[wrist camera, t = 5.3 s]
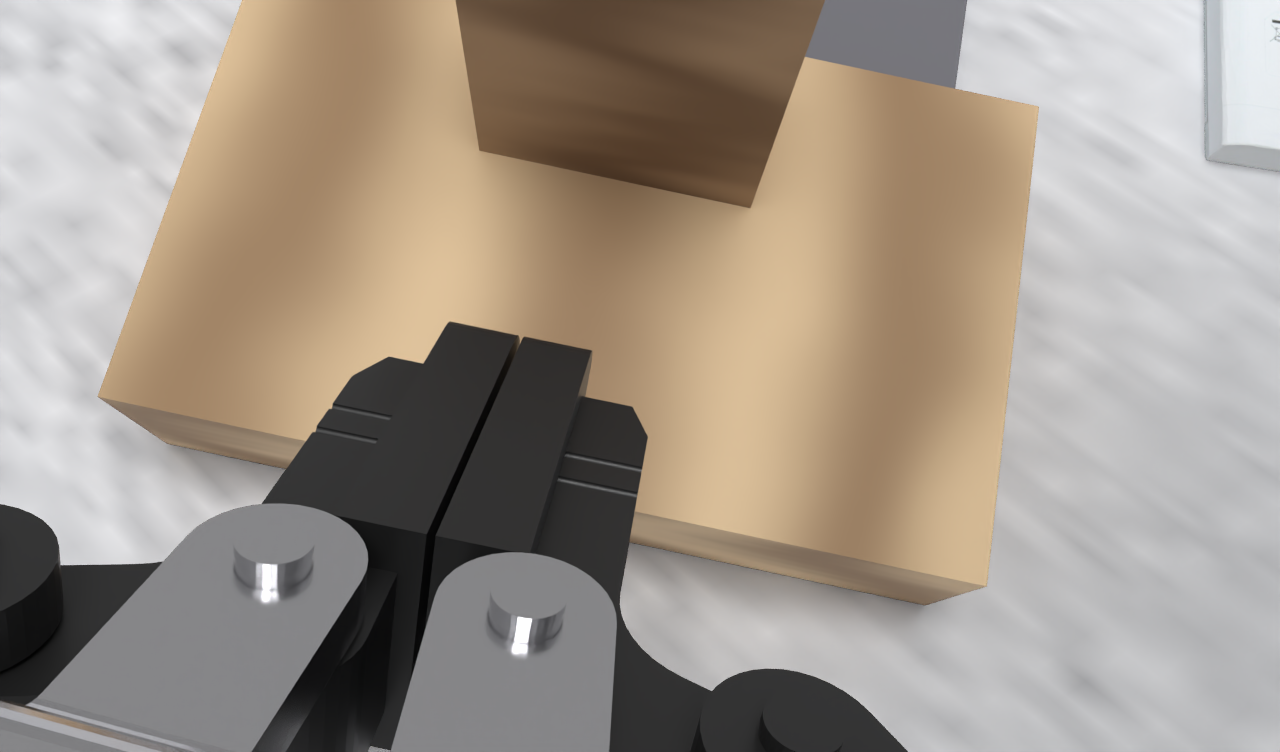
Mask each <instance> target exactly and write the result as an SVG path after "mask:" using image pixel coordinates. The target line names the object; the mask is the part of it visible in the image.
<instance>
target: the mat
mask: <svg viewBox="0 0 1280 752" xmlns="http://www.w3.org/2000/svg"><path fill="white" fill-rule="evenodd" d="M966 4H967V0H825V2H824V5H823V8H822V10H821V13H820V16H819V19H818V21H817V24H816V27H815V30H814V33H813V35H812V38H811V41H810V44H809V47H808V49H807V52H806V55H805V57H808V58H813V59H817V60H822V61H827V62H832V63H836V64H841V65H846V66H850V67H855V68H860V69H864V70H869V71H874V72H878V73H883V74H888V75H893V76H897V77H902V78H907V79H911V80H916V81H921V82H925V83H930V84H935V85H940V86H944V87H949V88H954V89H955V85H956V78H957V70H958V63H959V56H960V48H961V41H962V33H963V26H964V19H965V11H966Z"/></svg>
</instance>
